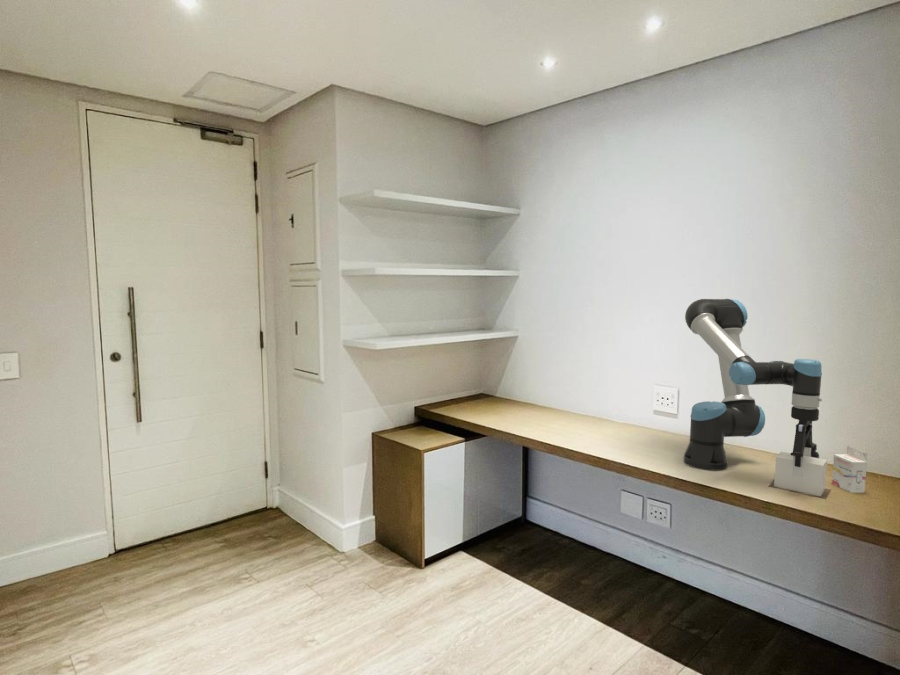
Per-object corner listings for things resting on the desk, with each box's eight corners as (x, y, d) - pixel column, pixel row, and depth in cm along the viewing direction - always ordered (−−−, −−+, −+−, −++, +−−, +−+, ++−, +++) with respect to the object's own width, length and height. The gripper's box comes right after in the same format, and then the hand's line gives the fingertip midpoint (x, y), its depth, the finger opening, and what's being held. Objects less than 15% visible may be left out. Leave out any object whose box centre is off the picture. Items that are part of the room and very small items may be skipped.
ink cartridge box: (830, 487, 186) (833, 445, 184) (844, 487, 186) (847, 444, 185) (850, 497, 177) (854, 452, 176) (865, 497, 178) (868, 452, 176)
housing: (774, 486, 182) (776, 456, 181) (779, 480, 188) (781, 451, 187) (820, 496, 174) (823, 465, 173) (824, 489, 179) (827, 459, 179)
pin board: (767, 490, 182) (768, 474, 182) (774, 482, 190) (775, 466, 190) (825, 503, 172) (826, 486, 171) (830, 494, 180) (831, 477, 179)
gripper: (812, 414, 166) (808, 483, 168) (824, 403, 185) (821, 465, 187) (784, 411, 171) (780, 477, 173) (798, 400, 190) (795, 460, 192)
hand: (801, 471), depth 180 cm, fingers open, 13 cm apart
